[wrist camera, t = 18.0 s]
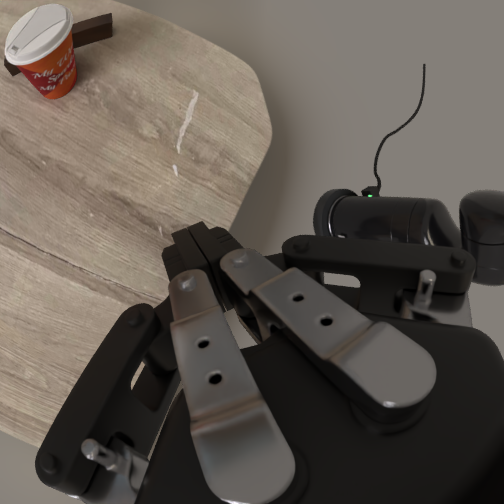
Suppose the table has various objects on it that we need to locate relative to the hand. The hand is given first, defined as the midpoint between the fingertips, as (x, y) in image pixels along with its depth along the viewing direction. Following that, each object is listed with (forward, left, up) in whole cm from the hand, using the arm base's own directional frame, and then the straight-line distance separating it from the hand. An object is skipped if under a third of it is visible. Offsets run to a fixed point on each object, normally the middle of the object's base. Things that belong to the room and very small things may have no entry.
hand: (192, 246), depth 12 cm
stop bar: (+3, -30, -24) cm, 38 cm away
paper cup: (+4, -24, -24) cm, 34 cm away
